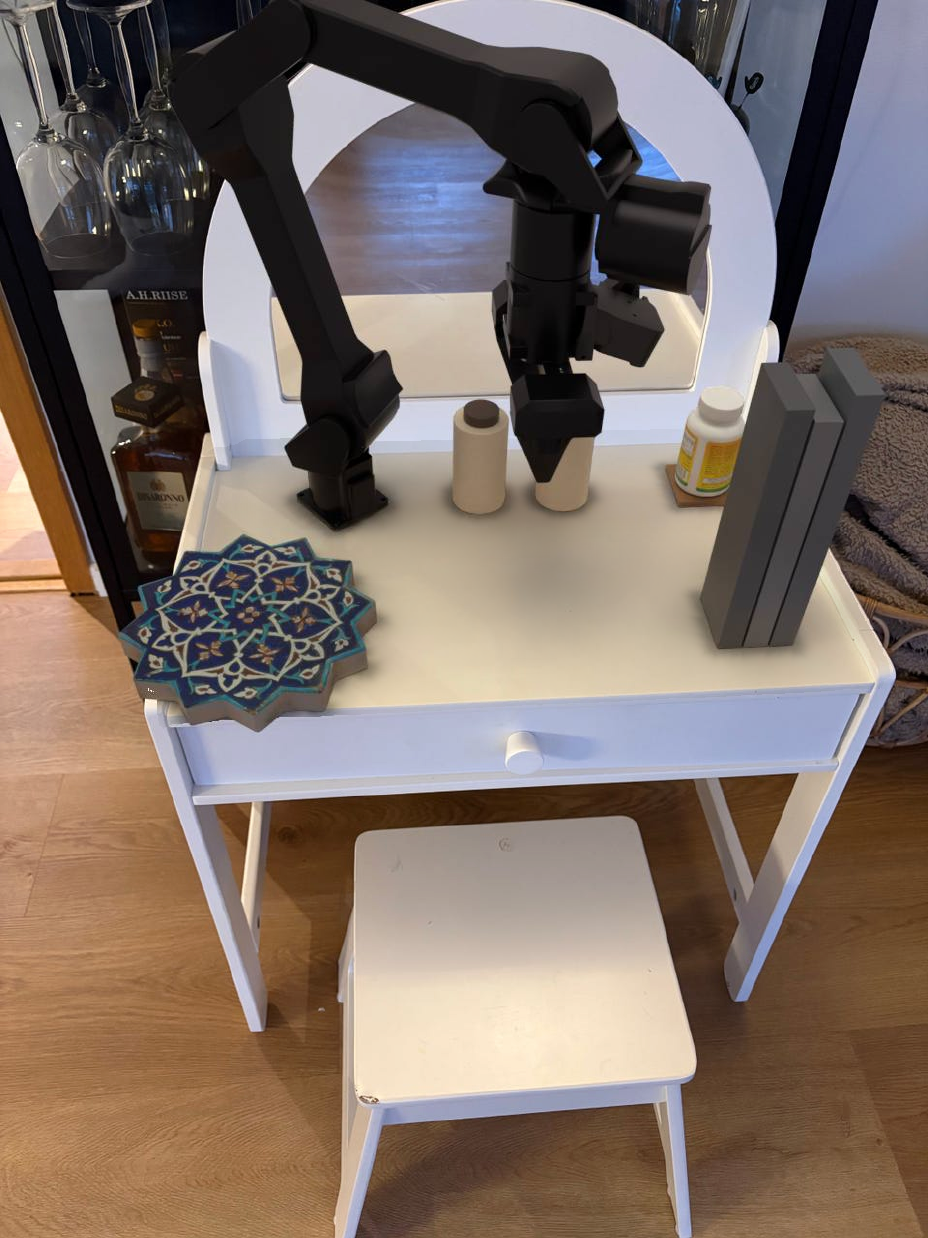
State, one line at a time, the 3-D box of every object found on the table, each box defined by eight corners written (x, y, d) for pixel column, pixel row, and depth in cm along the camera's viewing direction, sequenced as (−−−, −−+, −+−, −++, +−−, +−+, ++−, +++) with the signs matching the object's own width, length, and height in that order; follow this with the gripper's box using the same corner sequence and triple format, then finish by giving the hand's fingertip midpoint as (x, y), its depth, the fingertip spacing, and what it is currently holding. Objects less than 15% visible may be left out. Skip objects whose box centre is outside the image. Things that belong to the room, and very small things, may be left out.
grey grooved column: (793, 645, 81) (886, 394, 64) (717, 648, 81) (790, 397, 64) (771, 595, 85) (854, 347, 68) (699, 598, 85) (764, 349, 68)
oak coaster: (678, 506, 94) (679, 502, 93) (665, 469, 98) (666, 464, 98) (740, 504, 94) (741, 499, 94) (724, 467, 98) (725, 462, 98)
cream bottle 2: (524, 493, 95) (531, 404, 88) (561, 472, 97) (570, 384, 90) (560, 518, 92) (570, 428, 85) (597, 497, 95) (610, 408, 88)
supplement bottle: (664, 485, 95) (681, 399, 88) (689, 458, 98) (708, 374, 91) (715, 506, 93) (736, 420, 86) (739, 478, 96) (761, 393, 89)
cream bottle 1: (441, 495, 94) (441, 406, 87) (480, 475, 97) (483, 387, 90) (476, 521, 92) (479, 431, 85) (515, 499, 94) (521, 410, 87)
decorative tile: (103, 596, 84) (96, 576, 82) (322, 529, 90) (319, 509, 88) (165, 769, 71) (158, 750, 70) (413, 677, 78) (412, 657, 76)
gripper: (695, 326, 63) (657, 516, 74) (638, 205, 76) (613, 382, 87) (521, 330, 62) (509, 521, 73) (494, 207, 75) (487, 385, 86)
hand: (535, 447), depth 80 cm, fingers open, 9 cm apart
